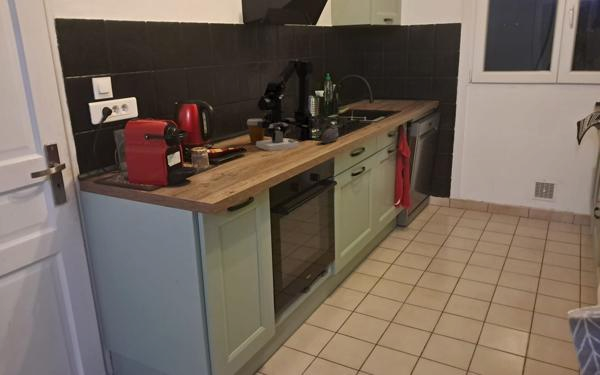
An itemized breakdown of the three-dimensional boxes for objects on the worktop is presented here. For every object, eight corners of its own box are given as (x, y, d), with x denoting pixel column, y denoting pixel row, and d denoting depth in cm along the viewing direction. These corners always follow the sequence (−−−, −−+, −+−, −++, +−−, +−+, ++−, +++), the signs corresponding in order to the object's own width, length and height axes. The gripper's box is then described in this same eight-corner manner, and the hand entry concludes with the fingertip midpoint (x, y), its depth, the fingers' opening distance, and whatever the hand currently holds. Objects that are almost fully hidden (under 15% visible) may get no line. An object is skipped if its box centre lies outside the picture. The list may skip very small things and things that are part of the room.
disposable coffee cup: (269, 141, 252) (268, 118, 249) (262, 145, 243) (261, 121, 240) (251, 141, 255) (250, 118, 251) (244, 144, 246) (243, 121, 243)
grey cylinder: (279, 142, 242) (278, 130, 240) (283, 144, 239) (282, 131, 237) (271, 143, 240) (271, 131, 238) (275, 145, 237) (275, 132, 235)
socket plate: (284, 142, 249) (284, 136, 248) (298, 147, 238) (298, 140, 237) (256, 146, 241) (256, 139, 240) (270, 151, 230) (269, 144, 229)
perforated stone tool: (326, 145, 241) (326, 131, 239) (317, 144, 244) (317, 130, 242) (341, 140, 253) (341, 127, 251) (332, 139, 256) (332, 126, 254)
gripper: (284, 105, 246) (285, 136, 250) (251, 108, 236) (252, 140, 241) (296, 107, 237) (297, 139, 241) (262, 110, 227) (263, 144, 232)
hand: (277, 140), depth 239 cm, fingers closed on grey cylinder, 4 cm apart
